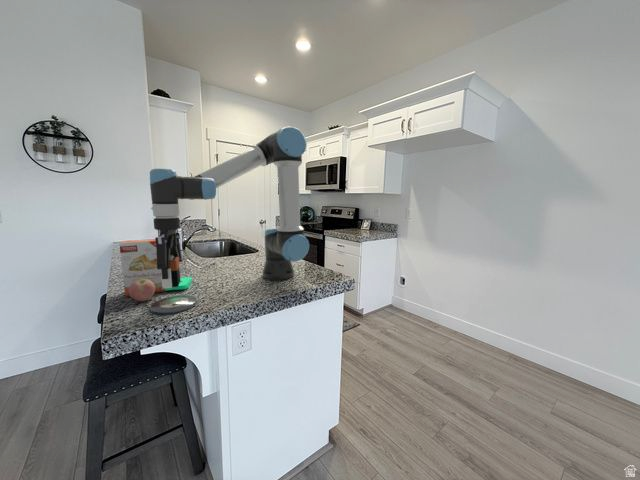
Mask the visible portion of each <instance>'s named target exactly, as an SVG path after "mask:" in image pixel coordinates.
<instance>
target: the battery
mask: <svg viewBox="0 0 640 480" xmlns="http://www.w3.org/2000/svg"><path fill="white" fill-rule="evenodd" d="M169 268H171V278H172V287H178V286H179V283H180V281H181V279H180V274H181V266H180V267H179V257H174V256H173V255H170V264H169Z"/></svg>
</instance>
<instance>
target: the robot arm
mask: <svg viewBox="0 0 640 480" xmlns="http://www.w3.org/2000/svg"><path fill="white" fill-rule="evenodd" d="M306 150H307V140H306V137H305V135H304V134H303V133H302V131H301V130H300V129H299V128H297V127H295V126H286V127H285V126H284V127H282V128H279V130H276V131H274V132H272V133H271V134H269V135H268V136H267V137H265V138H263V139H262V140H261V141H260V142H258V143H256V144H254V145H252V147H251V149H249V150H247V151H245V152H243V153H241V154H238V155H236V156H234V157H232V158H230V159H227V160H226V161H224V162H222V163H220V164H218V165H216V166H213V167H211V168H209V169H207V170H205V171H203V172H201V173H199V174H197V175H195V176H179V175H178V174H177V171H176V170H175V169H170V168H169V169H168V168H152V169H151V170H150V171H149V185H150V187H149V188H150V195H151V205H152V207H151V208H150V209H151V210H152V215H153V217H155V218H153V229H154V230H156V231H159V236H158V237H157V236H156V237H155V241H156V251H157V269H161V277H162V288H172V278H171V268H169V264H170V255H173V256H174V257H179V267H180V268H181V265H180V263H182V262H183V259H182V258H183V255H182V250H181V249H182V248H181V242H180V241H181V240H180V232H176V230H179V229H180V228H181V221H180V219H181V218H180V217H179V216H180V206H179V205H180V204H179V200H191V201H192V200H193V201H194V200H214V199H215V198H216V196H217V189H218V188H219V187H221V186H223V185H226V184H227V183H229V182H231V181H234V180H235V179H237V178H239V177H241V176H243V175H245V174H247V173H249V172H252V171H253V170H254V169H257V168H259V167H260V166H261V167H266V166H268V165H270V164H273V165H274V166H275V167H276V168H277V185H278V188H277V189H278V205H279V206H278V207H279V210H278V211H279V226H278V228H269V229H266V230H265V231H264V245H265V246H264V249H265V262H264V266H263V269H262V272H261V273H262V278H263V279H265V280H269V281H282V280H287V279H291V278H294V276H295V269H294V267H293V264H292V262H299V261H301V260H303V259H304V258H305V257H306V256H307V255H308V253H309V250H310V241H309V240H308V238H307V237H306V236H305V228H304V226H302V225H301V206H300V179H299V175H300V174H299V168H300V166H301V165H302V164H303V159H302V158H303V155H304V153H305V152H306ZM181 275H182V274H181V273H180V279H181V278H182V276H181Z"/></svg>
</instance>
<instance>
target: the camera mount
mask: <svg viewBox="0 0 640 480" xmlns="http://www.w3.org/2000/svg"><path fill="white" fill-rule="evenodd" d="M192 282H193V278H192V277H191V276H187V277H181V281H180V283H179V286H178V287H172V288H165V291H164V292H166V291H175V290H176V291H177V290H186V289H189V288H190V287H191V283H192Z"/></svg>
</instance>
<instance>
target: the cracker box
mask: <svg viewBox="0 0 640 480" xmlns="http://www.w3.org/2000/svg"><path fill="white" fill-rule="evenodd" d="M119 251H120V252H119V253H120V261H121V270H122V271H121V273H122V280H123V288H124V296H125V297H128V296H130V294H129V287H130V285H131V284H132V283H133V282H134V281H136V280H139V279H149V280H151V281H152V282H153V283H154V285H155V292H154V293H161V292H166V291H165V288H162V277H161V269H157V251H156V241H155V239H135V240H133V239H132V240H122V241H121V242H119ZM130 297H131V296H130Z"/></svg>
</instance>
